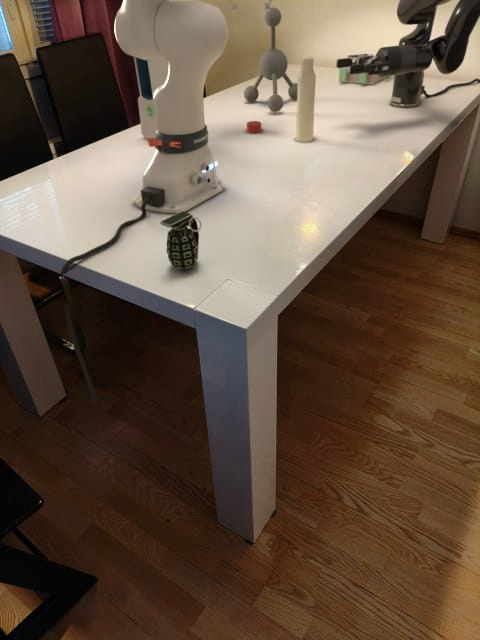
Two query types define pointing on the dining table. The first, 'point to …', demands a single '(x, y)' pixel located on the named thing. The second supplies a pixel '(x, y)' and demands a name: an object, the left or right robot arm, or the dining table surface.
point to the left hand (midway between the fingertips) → (250, 11)
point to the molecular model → (272, 68)
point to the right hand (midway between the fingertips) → (343, 66)
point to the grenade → (182, 240)
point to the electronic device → (149, 92)
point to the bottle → (305, 100)
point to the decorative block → (358, 77)
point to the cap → (254, 127)
